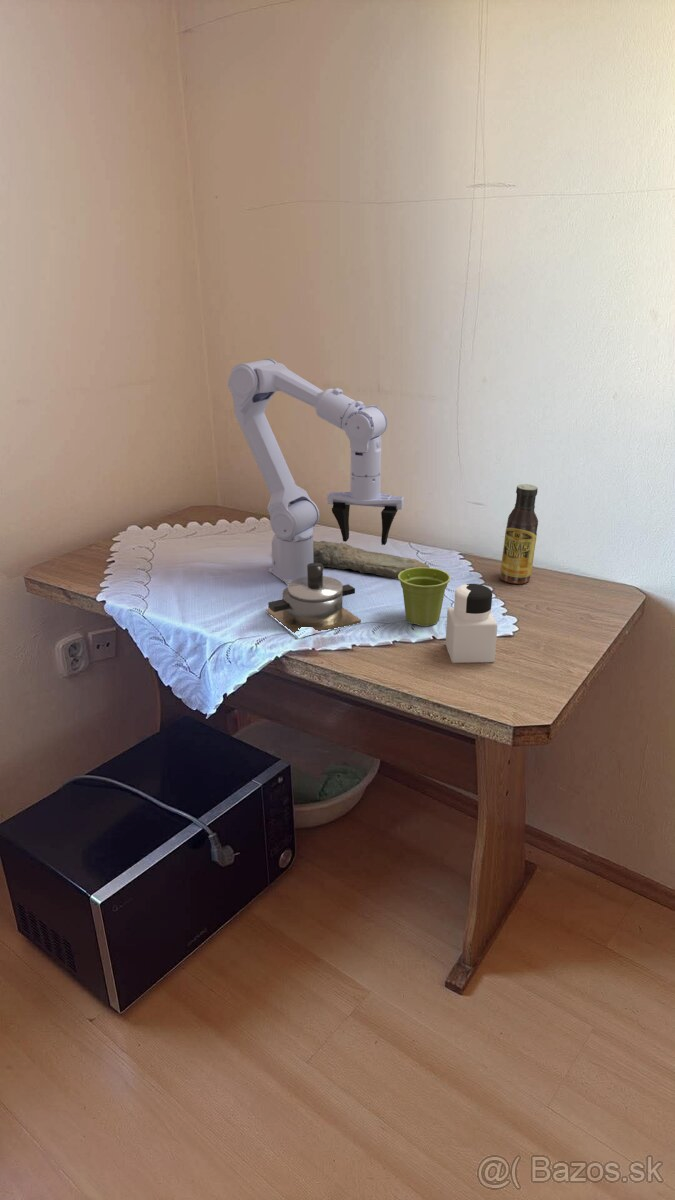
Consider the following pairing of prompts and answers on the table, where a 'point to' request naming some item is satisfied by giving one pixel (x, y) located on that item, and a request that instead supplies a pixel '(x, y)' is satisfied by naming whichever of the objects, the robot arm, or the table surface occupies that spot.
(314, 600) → the lid
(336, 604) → the pot
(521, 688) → the table surface
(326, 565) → the long grey stone
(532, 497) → the sauce bottle
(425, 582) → the plant pot
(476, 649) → the medicine bottle
